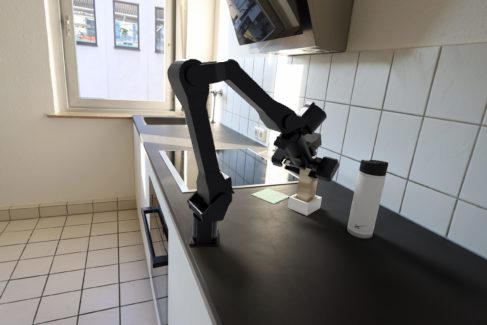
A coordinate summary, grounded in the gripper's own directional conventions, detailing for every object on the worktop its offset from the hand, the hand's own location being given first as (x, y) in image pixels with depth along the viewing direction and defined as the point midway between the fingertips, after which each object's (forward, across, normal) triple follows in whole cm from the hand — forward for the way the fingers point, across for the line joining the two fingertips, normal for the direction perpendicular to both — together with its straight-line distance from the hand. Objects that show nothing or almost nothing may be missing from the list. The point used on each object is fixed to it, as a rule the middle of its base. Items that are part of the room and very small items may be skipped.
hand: (310, 177), depth 86 cm
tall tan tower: (+4, 0, +6) cm, 7 cm away
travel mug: (+4, -18, +9) cm, 20 cm away
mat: (+5, +12, +8) cm, 15 cm away
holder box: (+6, 0, +8) cm, 10 cm away
